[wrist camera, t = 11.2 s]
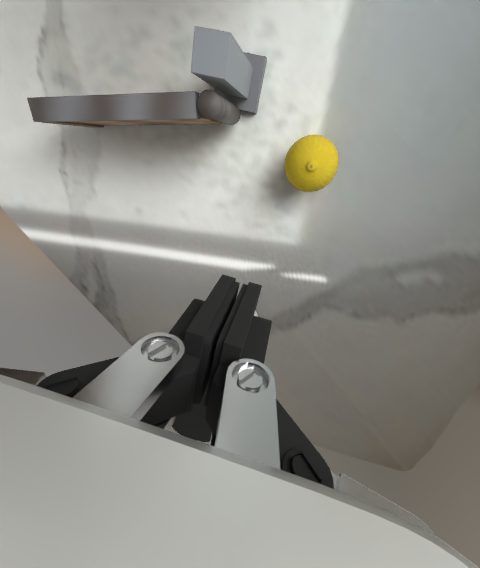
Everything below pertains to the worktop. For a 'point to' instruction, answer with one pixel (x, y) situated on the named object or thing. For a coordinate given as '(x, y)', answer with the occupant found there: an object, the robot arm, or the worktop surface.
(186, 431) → the spray can
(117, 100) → the gate
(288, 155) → the lemon
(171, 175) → the worktop surface
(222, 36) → the gate post
